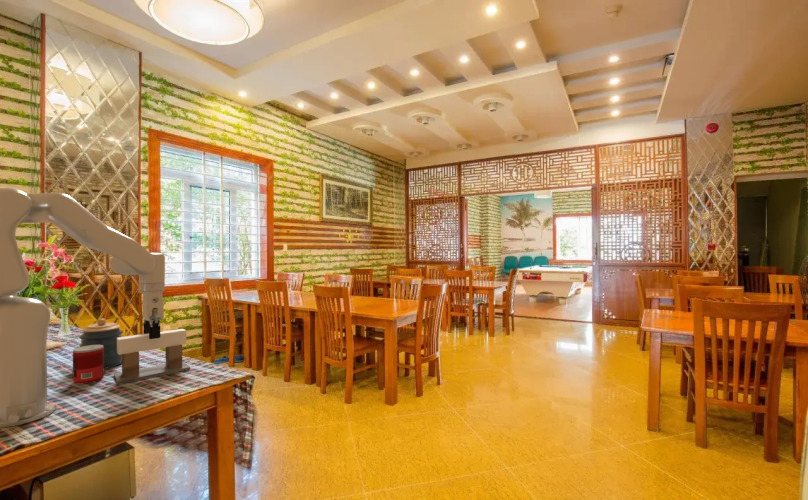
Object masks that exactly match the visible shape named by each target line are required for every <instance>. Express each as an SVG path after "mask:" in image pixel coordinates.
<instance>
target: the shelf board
mask: <svg viewBox="0 0 808 500" xmlns="http://www.w3.org/2000/svg"><path fill="white" fill-rule="evenodd" d="M186 344H187V330H186V329H184V328H178V329H171V330H165V331H164V330H163V331H160V338H155V339H149V333H148V334H144V333H142V334H136V335H134V334H133V335H126V336H122V337H118V338H117V353H118V355H121V354H127V353H133V352H139V353H140V352H145V351H150V350H151V351H152V350H156V349H163V348H166V347H170V346H176V345H182V346H183V345H186Z"/></svg>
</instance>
